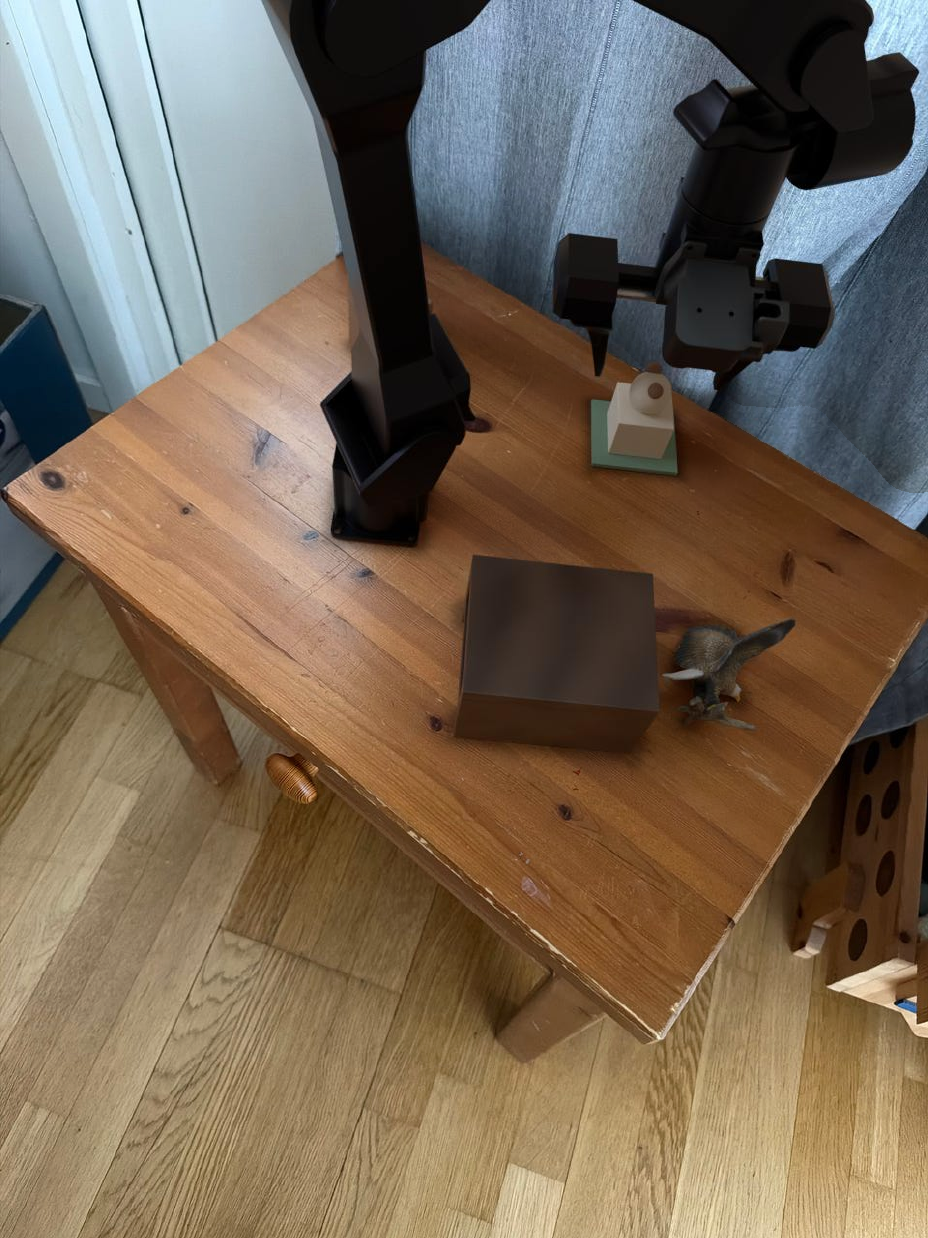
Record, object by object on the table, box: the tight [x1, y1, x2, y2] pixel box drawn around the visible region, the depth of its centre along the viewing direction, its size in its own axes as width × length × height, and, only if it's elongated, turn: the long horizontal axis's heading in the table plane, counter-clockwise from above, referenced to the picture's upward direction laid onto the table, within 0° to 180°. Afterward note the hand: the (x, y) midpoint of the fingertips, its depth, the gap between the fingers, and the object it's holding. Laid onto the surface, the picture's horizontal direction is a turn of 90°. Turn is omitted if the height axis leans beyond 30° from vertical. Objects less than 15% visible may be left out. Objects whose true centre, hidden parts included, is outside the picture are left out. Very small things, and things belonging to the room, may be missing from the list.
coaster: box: [590, 399, 679, 477], centre depth 74 cm, size 7×7×1 cm
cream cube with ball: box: [607, 361, 675, 459], centre depth 71 cm, size 4×4×7 cm
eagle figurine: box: [661, 617, 797, 731], centre depth 61 cm, size 8×7×9 cm
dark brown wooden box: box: [452, 554, 661, 754], centre depth 59 cm, size 12×10×7 cm
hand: (656, 379), depth 69 cm, fingers open, 9 cm apart
